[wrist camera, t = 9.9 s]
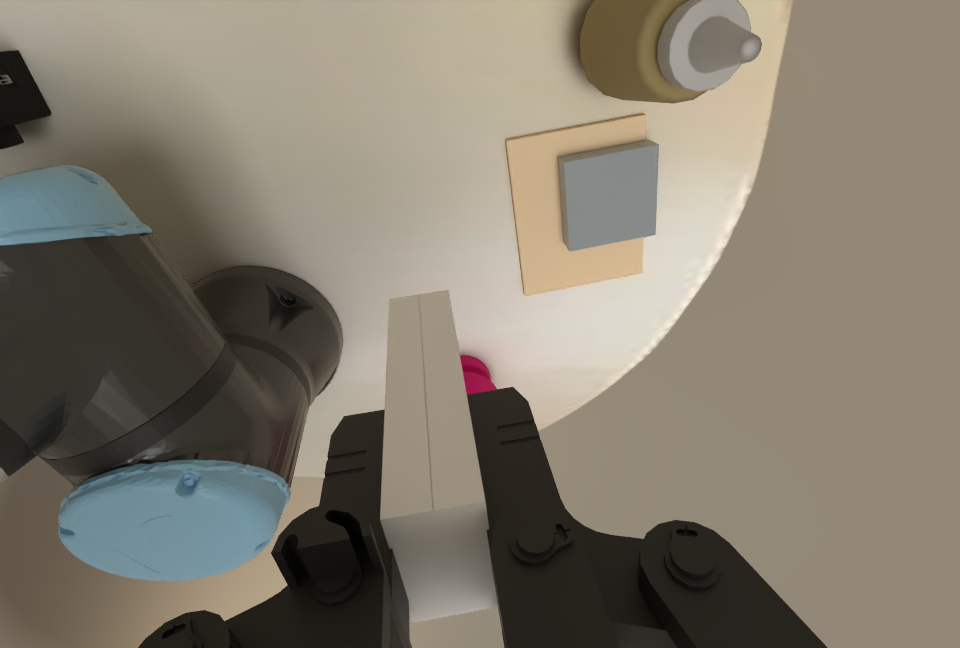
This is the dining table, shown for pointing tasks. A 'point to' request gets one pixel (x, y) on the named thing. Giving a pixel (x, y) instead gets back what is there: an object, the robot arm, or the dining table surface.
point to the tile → (609, 194)
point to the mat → (541, 208)
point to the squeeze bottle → (664, 47)
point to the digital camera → (17, 98)
